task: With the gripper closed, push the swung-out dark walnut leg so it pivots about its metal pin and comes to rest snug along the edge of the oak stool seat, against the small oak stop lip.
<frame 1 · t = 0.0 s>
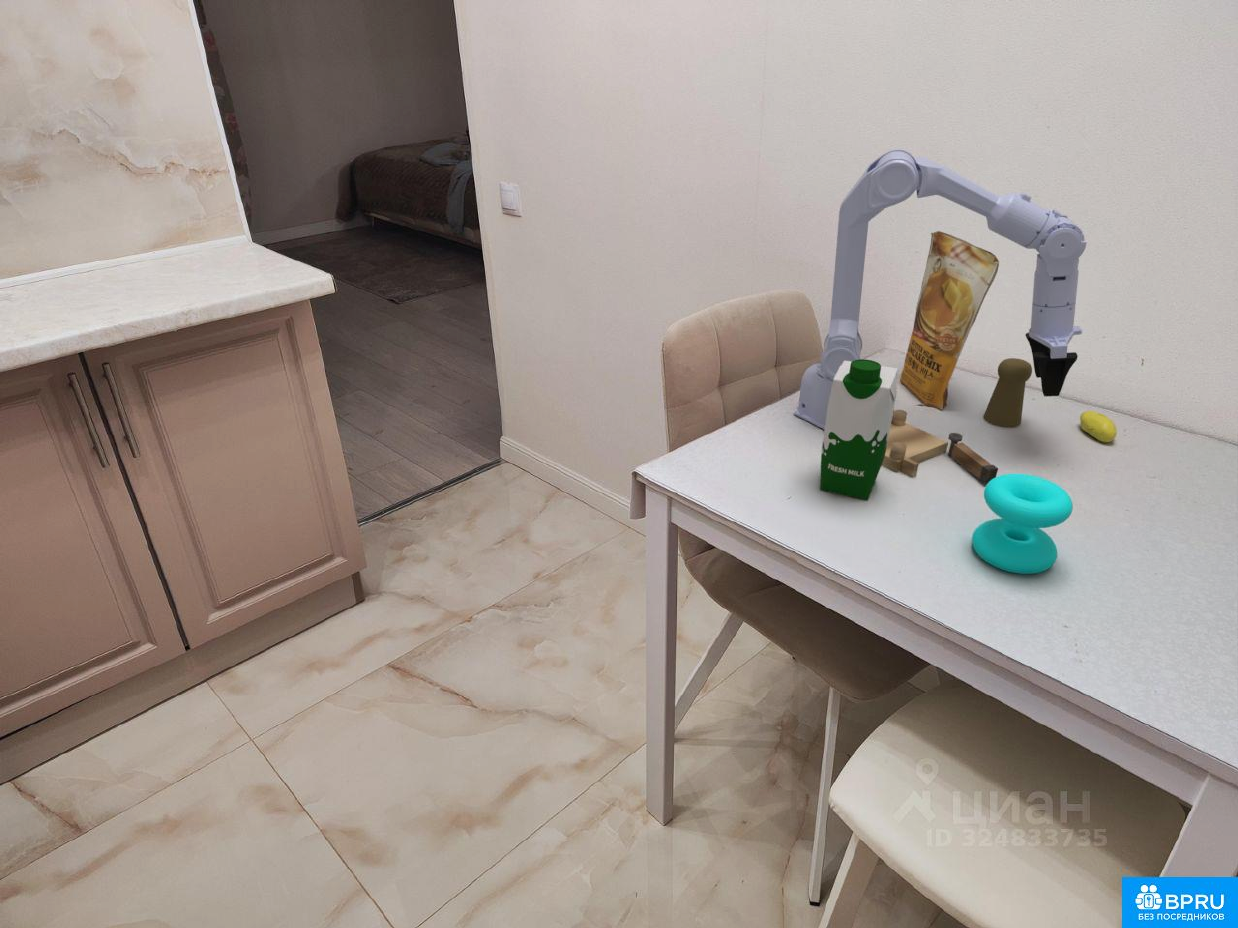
hand: (1047, 385, 124), 11 cm above the table, tool pointing down, fingers open, 7 cm apart
pancake mix bag: (926, 393, 148), on the table
donuts: (1010, 556, 102), on the table
cork: (1001, 421, 137), on the table
lemon: (1094, 436, 132), on the table
hinged leg: (973, 462, 121), point 2 cm above the table, hinge at 70.0°
milk carton: (848, 485, 118), on the table
stool seat: (895, 449, 128), on the table
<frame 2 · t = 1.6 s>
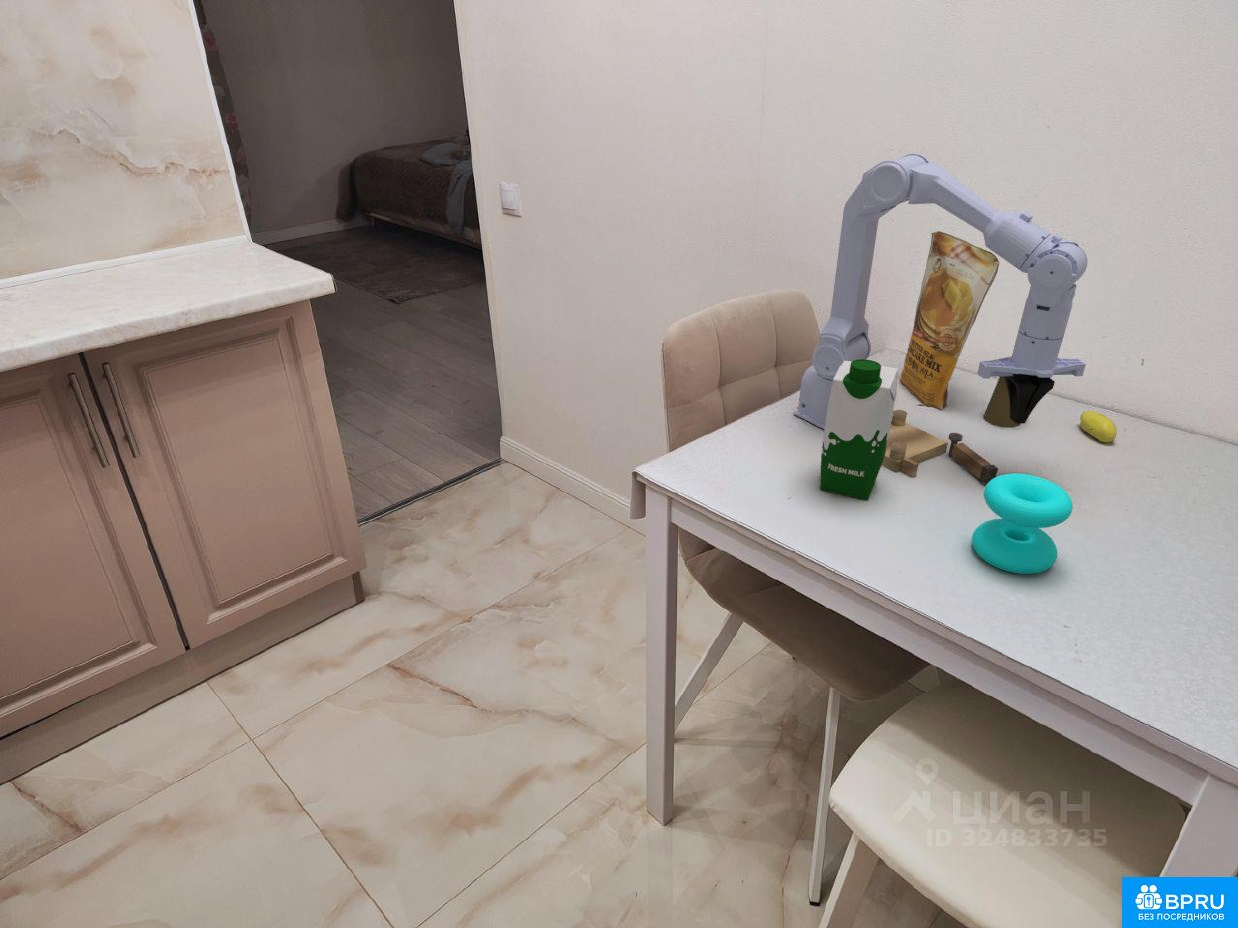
hand: (1017, 420, 116), 9 cm above the table, tool pointing down, fingers closed
nothing on the table moved.
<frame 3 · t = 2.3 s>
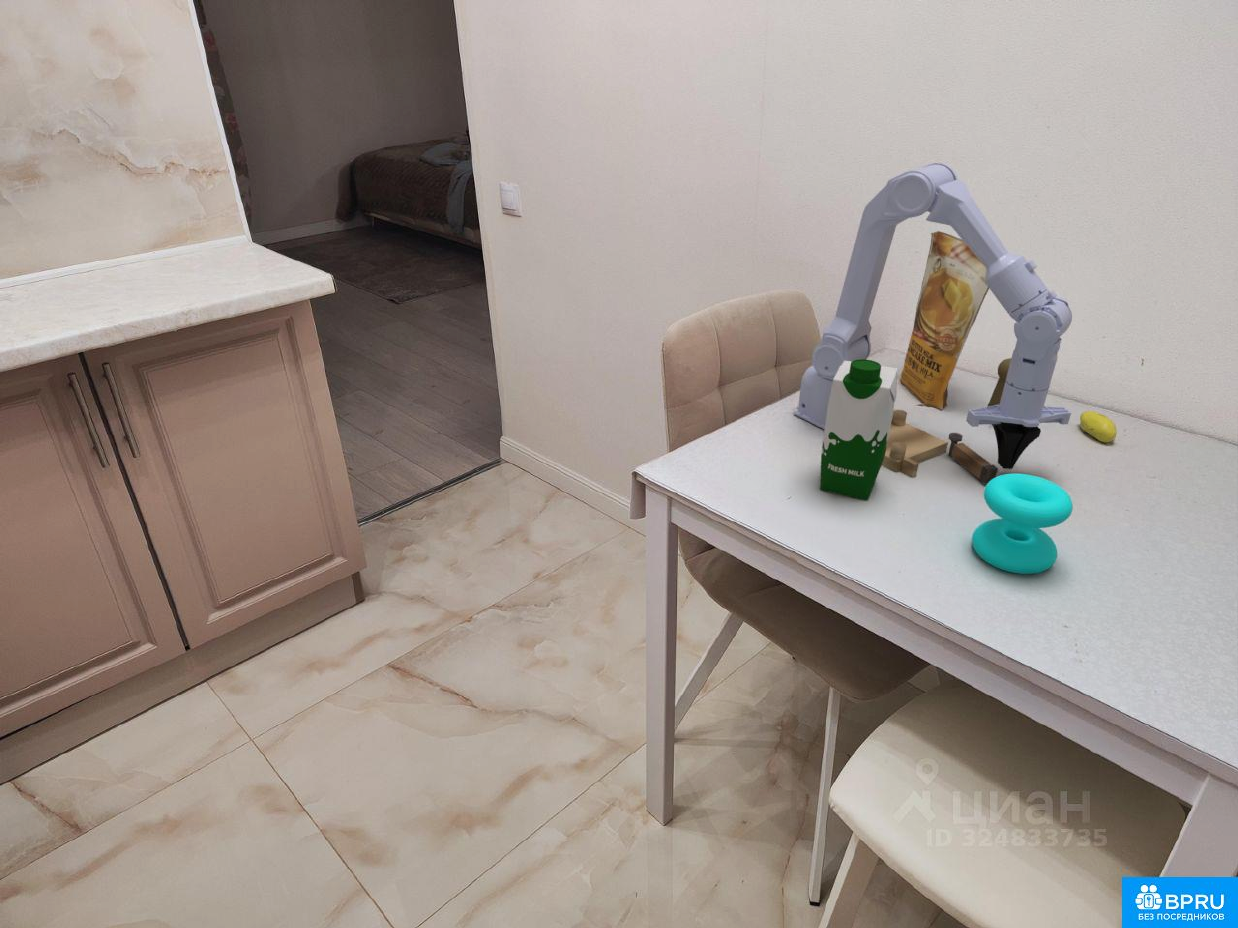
hand: (1005, 465, 120), 1 cm above the table, tool pointing down, fingers closed
nothing on the table moved.
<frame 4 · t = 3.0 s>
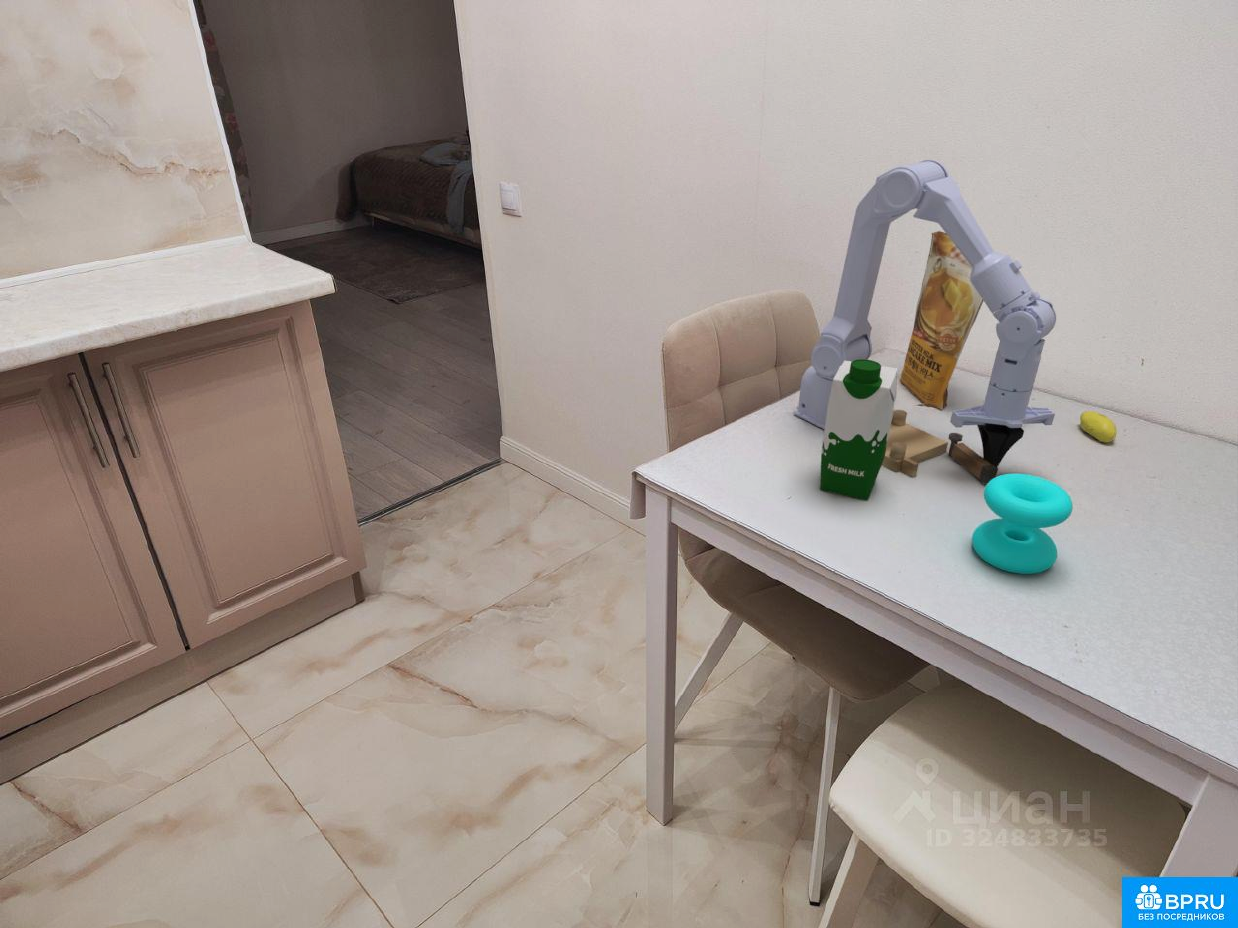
hand: (989, 466, 120), 1 cm above the table, tool pointing down, fingers closed
hinged leg: (973, 462, 121), point 2 cm above the table, hinge at 70.0°, touching gripper
everything else where it was.
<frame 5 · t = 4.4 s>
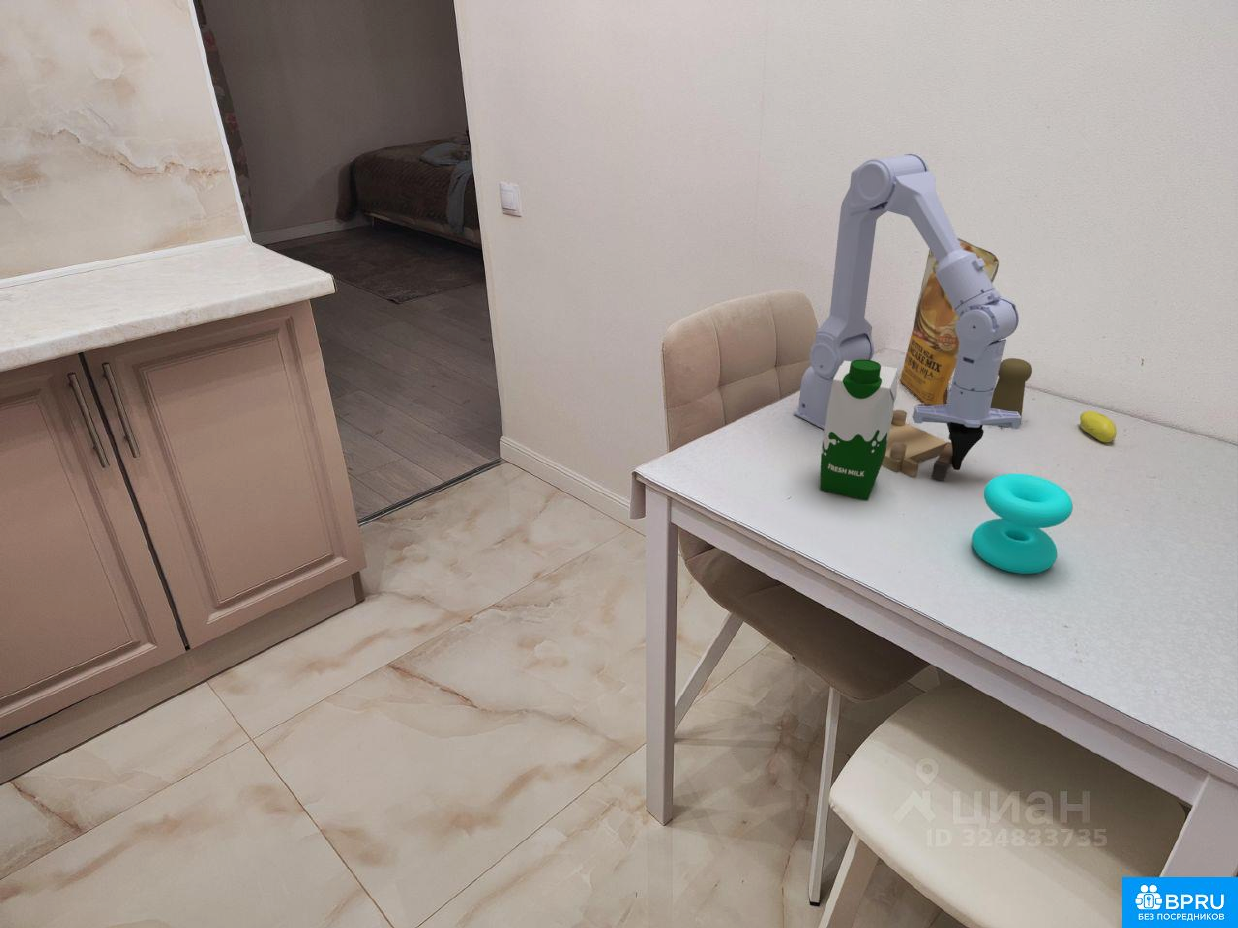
hand: (955, 466, 120), 2 cm above the table, tool pointing down, fingers closed, pressing on hinged leg
hinged leg: (945, 460, 121), point 2 cm above the table, hinge at 24.5°, touching gripper
everything else where it was.
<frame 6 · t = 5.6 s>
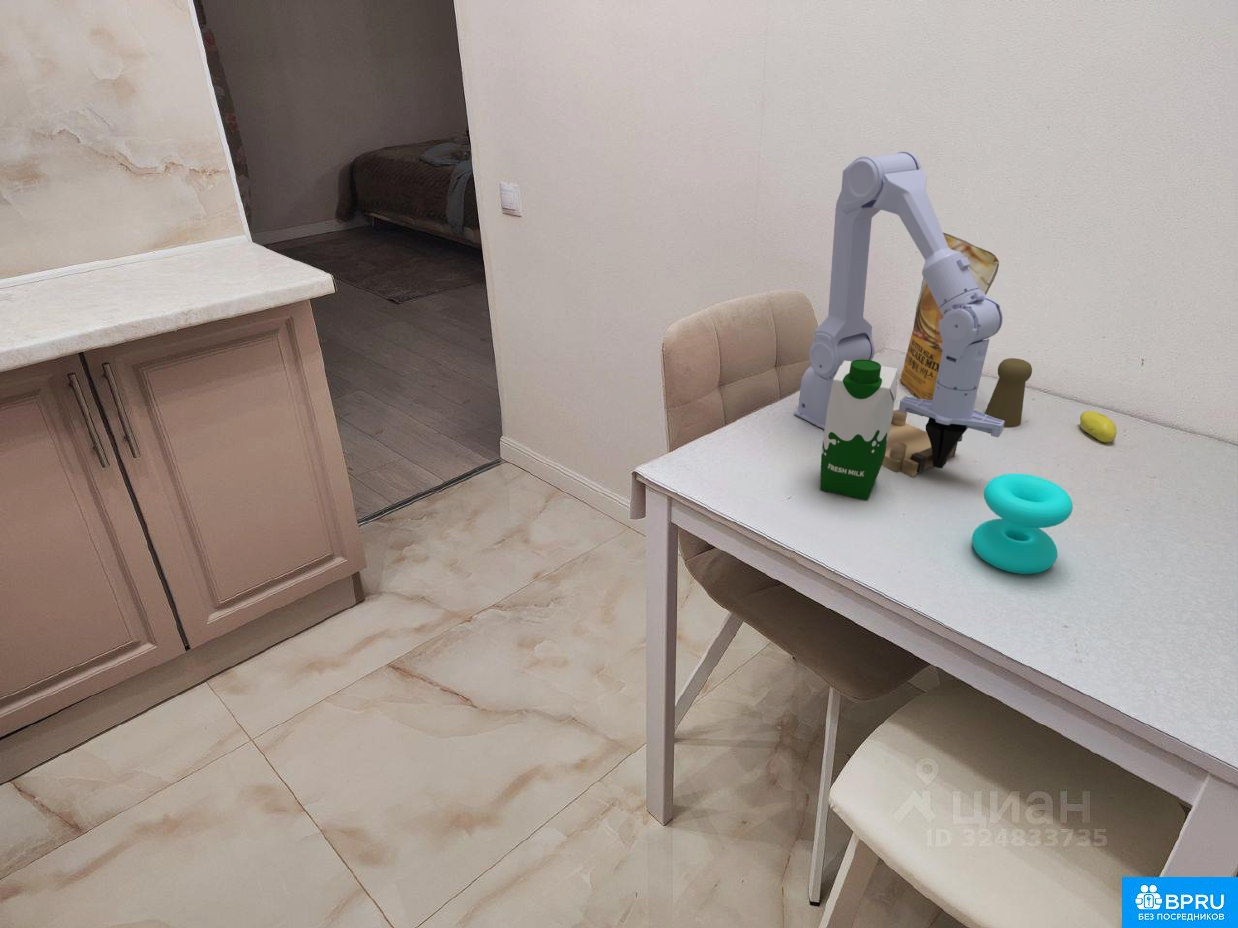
hand: (939, 464, 120), 1 cm above the table, tool pointing down, fingers closed
hinged leg: (932, 455, 122), point 2 cm above the table, hinge at 2.2°
everything else where it was.
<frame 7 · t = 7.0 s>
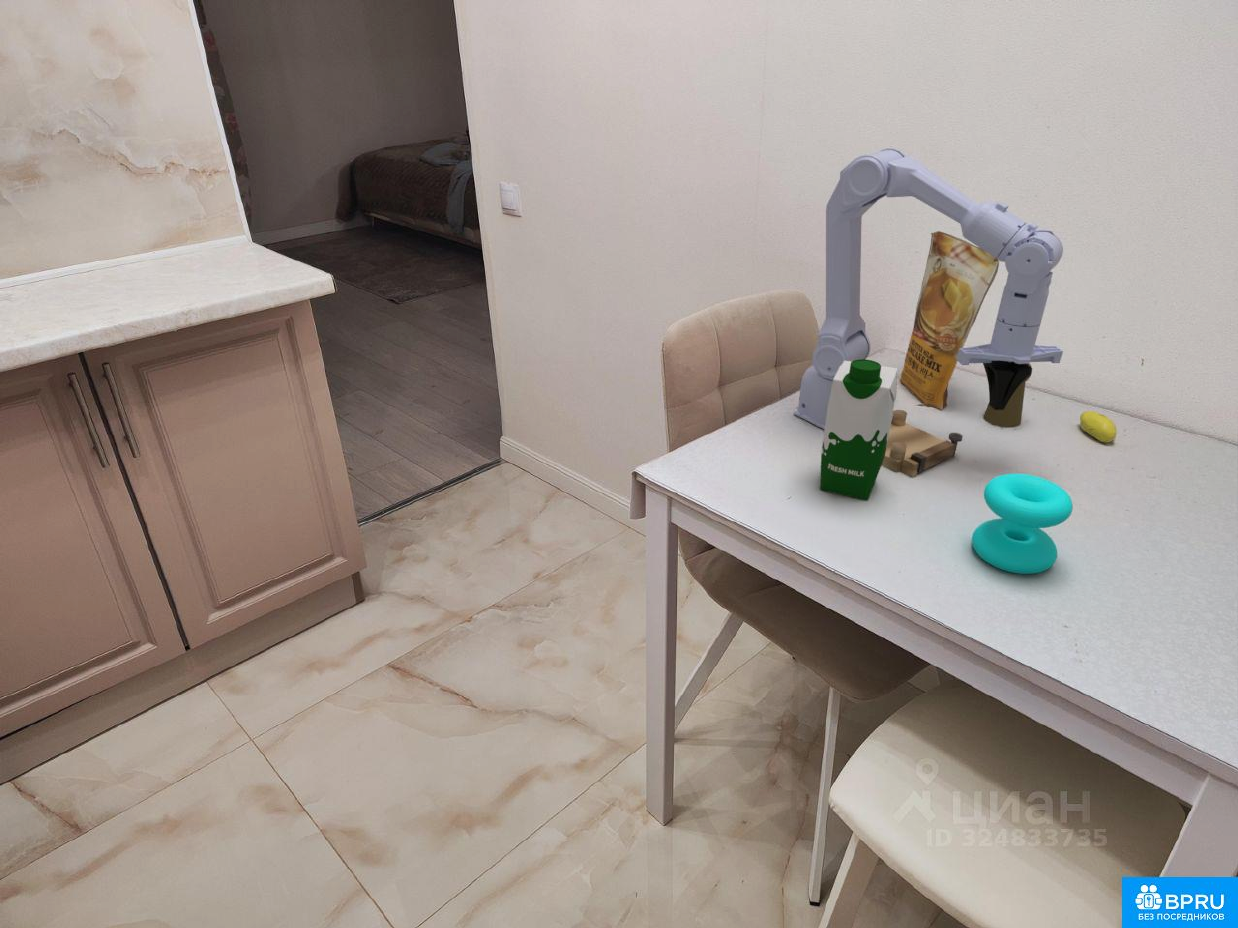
hand: (996, 407, 119), 10 cm above the table, tool pointing down, fingers closed
nothing on the table moved.
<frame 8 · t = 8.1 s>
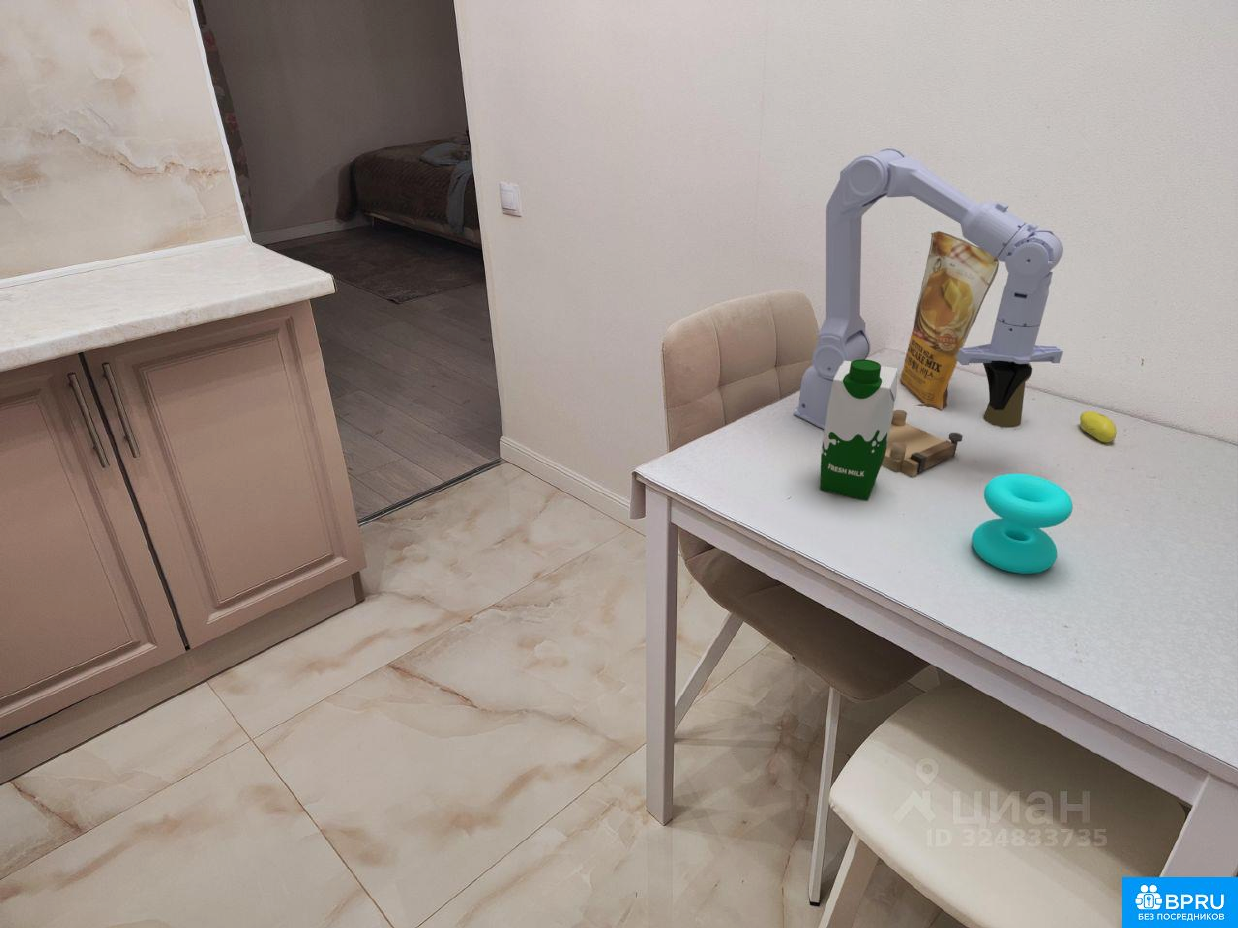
hand: (996, 407, 119), 10 cm above the table, tool pointing down, fingers closed
nothing on the table moved.
at the end: hinged leg at +2° (first picture: +70°) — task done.
